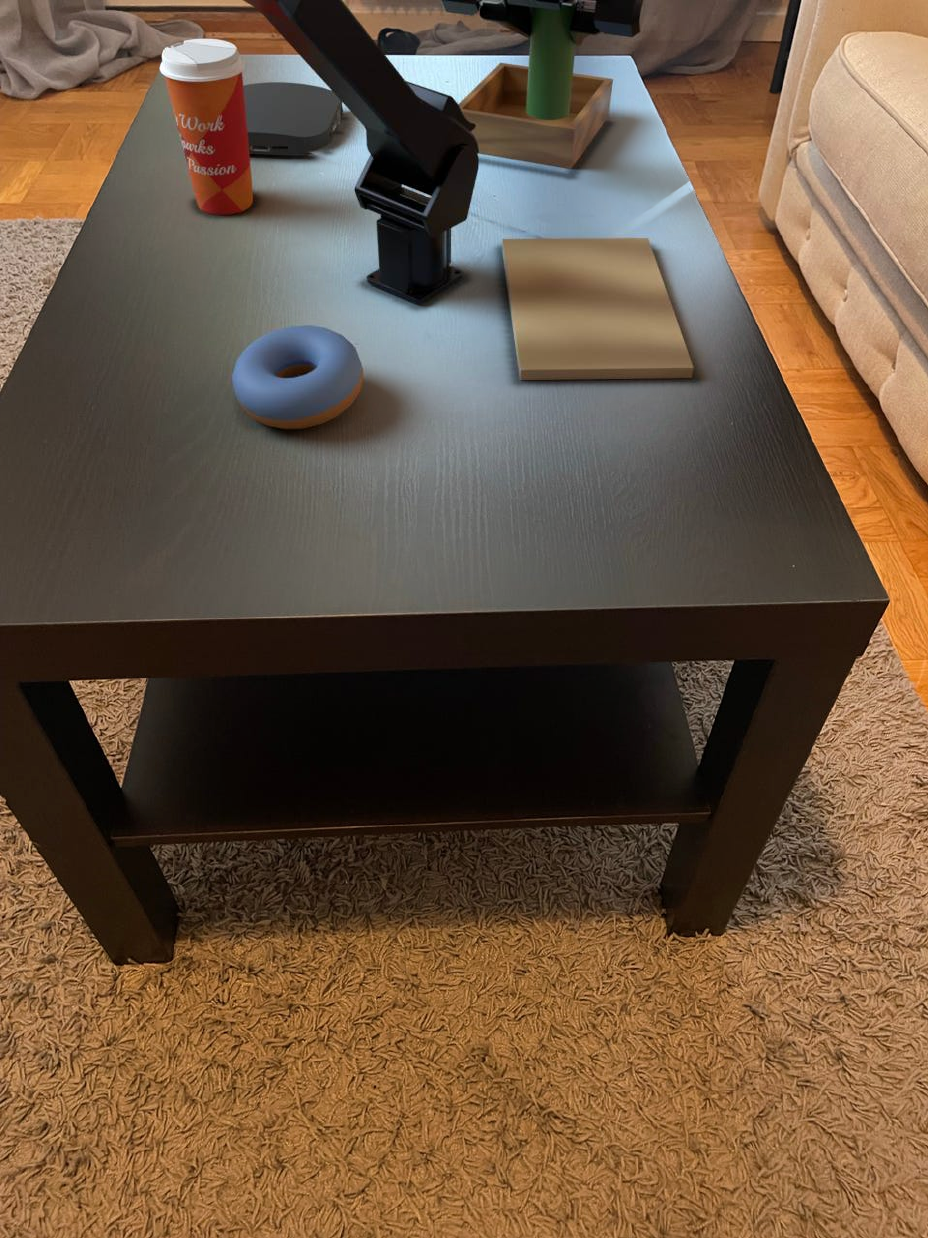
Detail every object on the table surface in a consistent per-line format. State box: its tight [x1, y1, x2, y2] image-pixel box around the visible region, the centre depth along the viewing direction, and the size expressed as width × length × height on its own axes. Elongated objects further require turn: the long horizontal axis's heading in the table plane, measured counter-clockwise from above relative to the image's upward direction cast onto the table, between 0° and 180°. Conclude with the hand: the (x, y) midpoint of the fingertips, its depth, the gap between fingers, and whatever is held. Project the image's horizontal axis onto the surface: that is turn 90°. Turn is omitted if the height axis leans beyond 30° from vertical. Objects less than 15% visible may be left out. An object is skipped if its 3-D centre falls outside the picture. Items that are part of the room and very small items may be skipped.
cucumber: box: [526, 4, 577, 120], centre depth 93 cm, size 4×4×14 cm
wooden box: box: [458, 62, 614, 170], centre depth 109 cm, size 16×14×5 cm
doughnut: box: [231, 324, 364, 430], centre depth 74 cm, size 10×10×5 cm
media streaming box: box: [243, 81, 344, 156], centre depth 110 cm, size 15×15×3 cm
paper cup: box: [159, 38, 254, 216], centre depth 94 cm, size 8×8×14 cm
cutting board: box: [501, 237, 695, 381], centre depth 86 cm, size 22×14×1 cm, turn 2°
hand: (557, 37), depth 95 cm, fingers closed on cucumber, 4 cm apart
